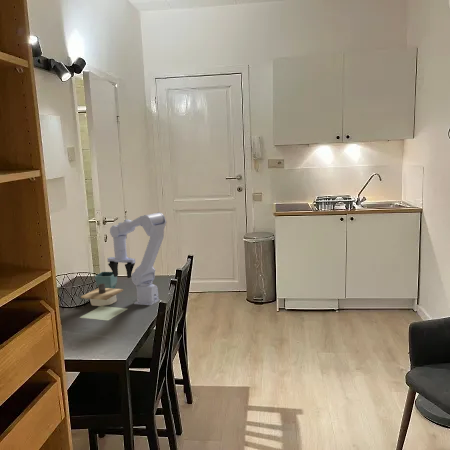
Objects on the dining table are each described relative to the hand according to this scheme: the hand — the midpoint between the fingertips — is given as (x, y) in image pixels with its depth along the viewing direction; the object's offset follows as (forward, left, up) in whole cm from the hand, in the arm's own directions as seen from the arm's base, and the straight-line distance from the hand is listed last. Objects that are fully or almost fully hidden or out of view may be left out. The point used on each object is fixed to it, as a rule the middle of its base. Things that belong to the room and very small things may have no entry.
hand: (122, 276), depth 231 cm
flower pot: (+16, -8, -11) cm, 20 cm away
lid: (+6, +9, -6) cm, 13 cm away
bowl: (+6, +9, -10) cm, 15 cm away
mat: (-4, +22, -10) cm, 25 cm away
